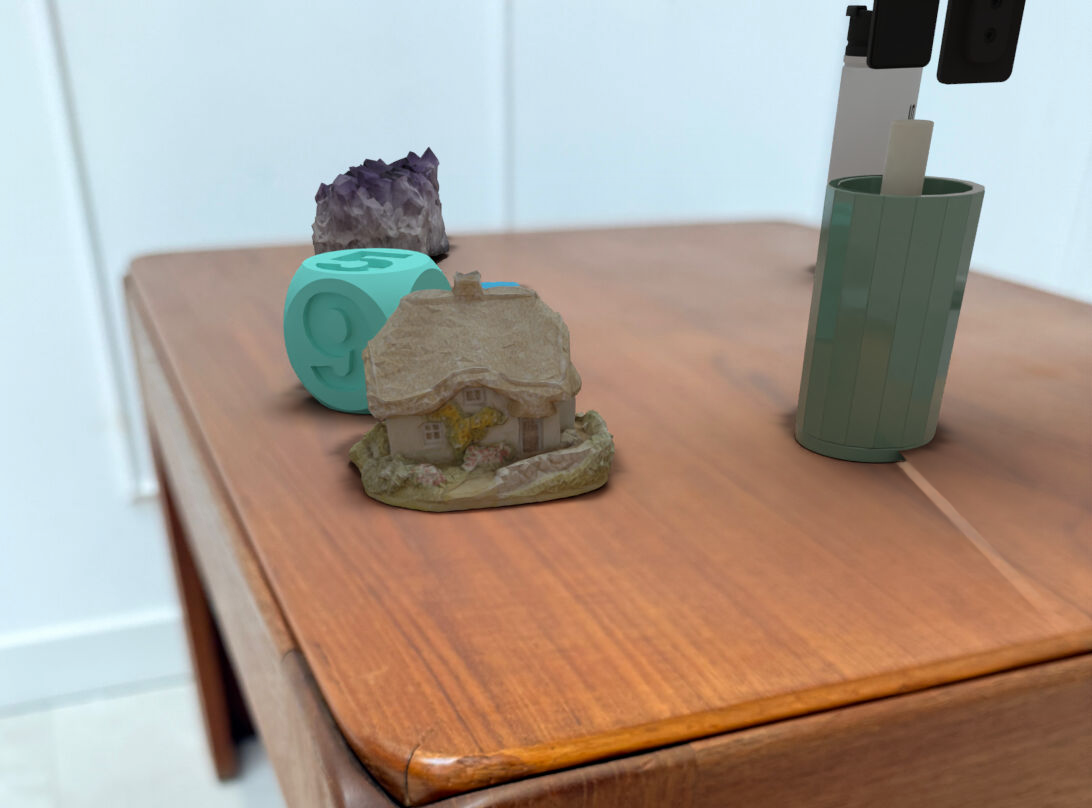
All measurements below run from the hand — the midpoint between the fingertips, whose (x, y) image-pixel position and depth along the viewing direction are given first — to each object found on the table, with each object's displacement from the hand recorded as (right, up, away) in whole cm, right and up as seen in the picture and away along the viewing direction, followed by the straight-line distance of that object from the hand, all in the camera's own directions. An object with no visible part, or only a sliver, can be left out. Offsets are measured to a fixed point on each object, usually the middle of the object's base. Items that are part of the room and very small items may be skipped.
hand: (932, 74), depth 52 cm
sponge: (-22, +2, +35) cm, 42 cm away
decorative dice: (-29, -10, +18) cm, 35 cm away
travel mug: (+9, +9, +44) cm, 46 cm away
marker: (0, -14, +10) cm, 17 cm away
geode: (-33, +15, +53) cm, 64 cm away
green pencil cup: (0, -15, +10) cm, 18 cm away
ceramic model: (-22, -18, +7) cm, 29 cm away
